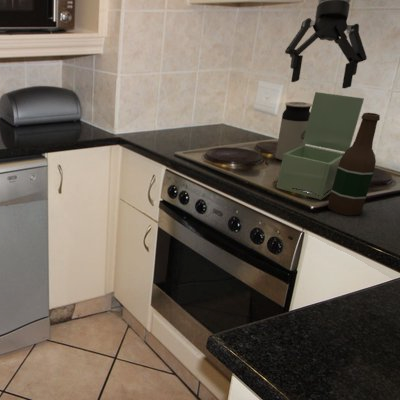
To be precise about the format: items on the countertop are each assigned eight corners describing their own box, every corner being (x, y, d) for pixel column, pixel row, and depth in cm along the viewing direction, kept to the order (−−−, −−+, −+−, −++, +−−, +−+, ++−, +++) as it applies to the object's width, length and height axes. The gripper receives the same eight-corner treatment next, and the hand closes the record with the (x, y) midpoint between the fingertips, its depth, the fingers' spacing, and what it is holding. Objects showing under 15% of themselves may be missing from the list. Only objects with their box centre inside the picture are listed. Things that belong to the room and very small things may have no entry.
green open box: (321, 200, 124) (330, 164, 120) (275, 187, 132) (283, 153, 128) (338, 187, 133) (347, 153, 129) (295, 176, 140) (302, 144, 136)
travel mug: (269, 157, 158) (278, 102, 152) (287, 154, 161) (297, 100, 154) (289, 163, 151) (299, 106, 145) (308, 160, 154) (319, 104, 147)
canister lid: (363, 98, 123) (364, 98, 124) (315, 92, 131) (316, 92, 131) (347, 152, 128) (348, 152, 129) (302, 143, 136) (303, 142, 137)
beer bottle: (355, 205, 121) (383, 111, 112) (367, 217, 114) (398, 118, 105) (321, 202, 123) (346, 109, 113) (331, 214, 116) (359, 116, 106)
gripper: (371, 14, 130) (359, 92, 131) (279, 3, 131) (267, 81, 132) (391, 4, 122) (377, 87, 123) (293, -7, 123) (280, 75, 124)
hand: (320, 84), depth 128 cm, fingers open, 13 cm apart
